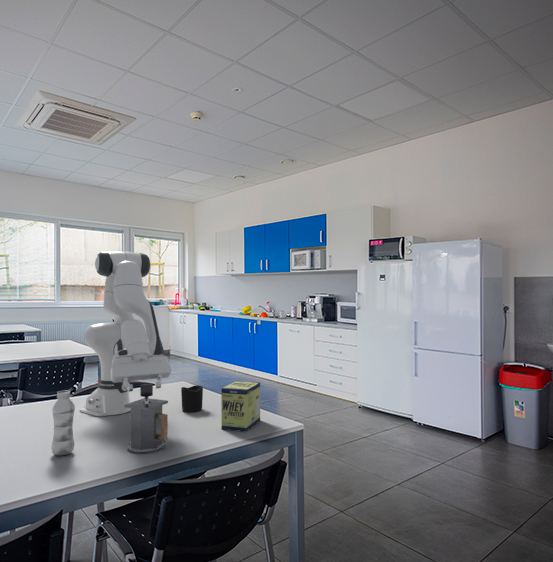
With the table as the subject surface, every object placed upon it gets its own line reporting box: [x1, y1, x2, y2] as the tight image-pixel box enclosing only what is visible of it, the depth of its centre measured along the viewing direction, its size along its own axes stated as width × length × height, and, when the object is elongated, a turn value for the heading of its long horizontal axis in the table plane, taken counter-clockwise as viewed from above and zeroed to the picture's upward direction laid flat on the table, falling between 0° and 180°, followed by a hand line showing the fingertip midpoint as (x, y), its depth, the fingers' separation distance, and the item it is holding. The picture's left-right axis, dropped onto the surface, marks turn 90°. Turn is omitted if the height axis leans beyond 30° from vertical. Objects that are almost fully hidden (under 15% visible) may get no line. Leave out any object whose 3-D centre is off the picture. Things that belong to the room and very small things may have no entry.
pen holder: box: [180, 384, 204, 414], centre depth 189 cm, size 9×9×10 cm
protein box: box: [220, 380, 261, 432], centre depth 168 cm, size 10×16×16 cm
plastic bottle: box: [51, 390, 76, 457], centre depth 138 cm, size 6×7×20 cm
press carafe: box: [124, 397, 169, 455], centre depth 144 cm, size 14×12×15 cm
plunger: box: [139, 383, 154, 404], centre depth 144 cm, size 8×8×18 cm
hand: (145, 389), depth 145 cm, fingers open, 8 cm apart
